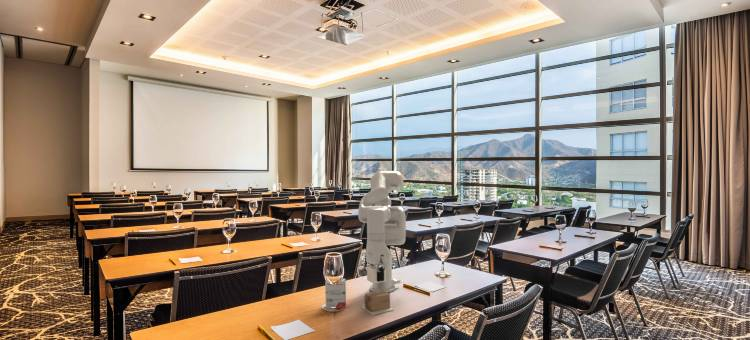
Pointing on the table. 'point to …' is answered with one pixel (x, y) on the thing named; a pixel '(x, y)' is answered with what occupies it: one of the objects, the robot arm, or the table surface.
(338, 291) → the ink box
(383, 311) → the mat
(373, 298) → the walnut brick
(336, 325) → the table surface
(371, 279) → the cream brick
